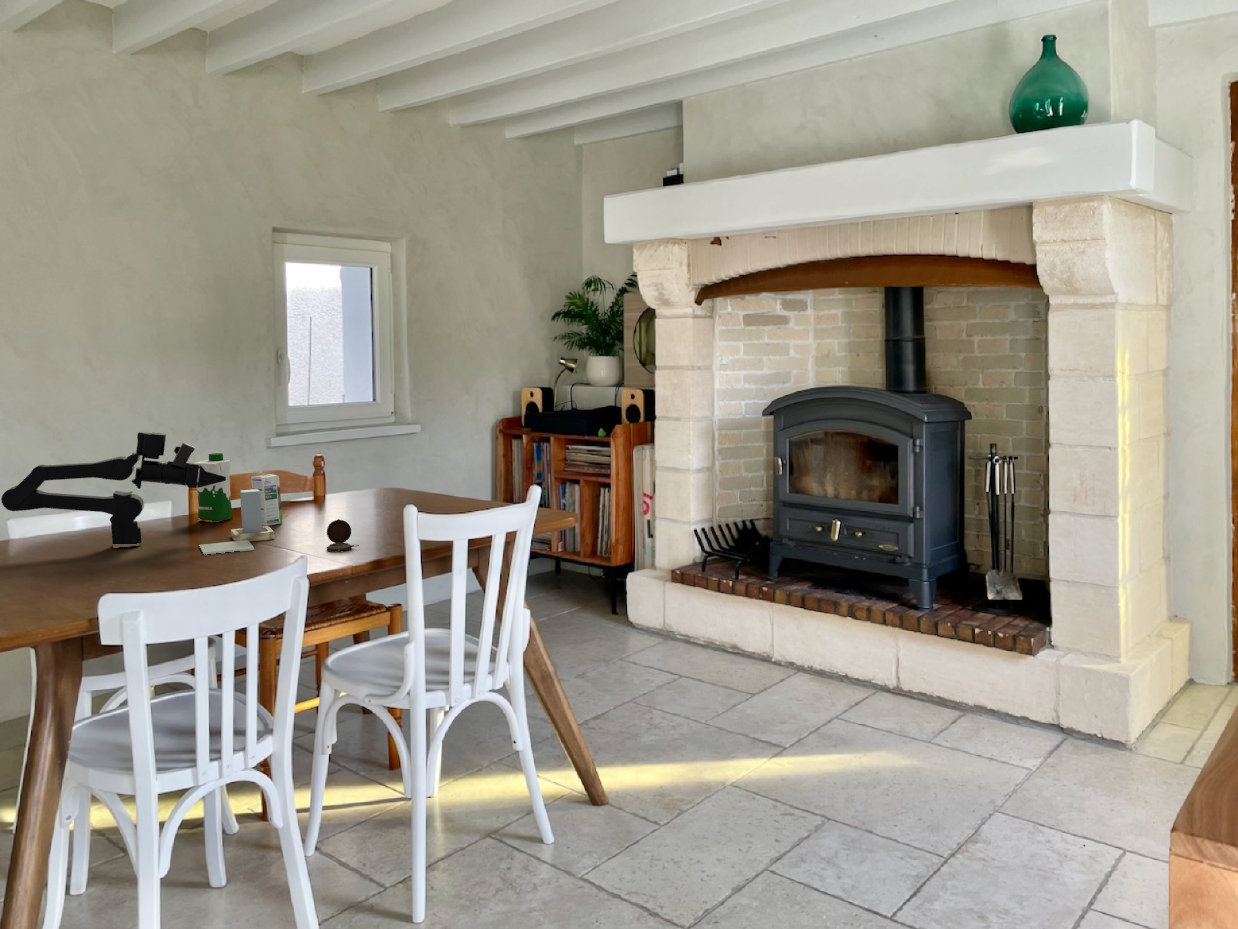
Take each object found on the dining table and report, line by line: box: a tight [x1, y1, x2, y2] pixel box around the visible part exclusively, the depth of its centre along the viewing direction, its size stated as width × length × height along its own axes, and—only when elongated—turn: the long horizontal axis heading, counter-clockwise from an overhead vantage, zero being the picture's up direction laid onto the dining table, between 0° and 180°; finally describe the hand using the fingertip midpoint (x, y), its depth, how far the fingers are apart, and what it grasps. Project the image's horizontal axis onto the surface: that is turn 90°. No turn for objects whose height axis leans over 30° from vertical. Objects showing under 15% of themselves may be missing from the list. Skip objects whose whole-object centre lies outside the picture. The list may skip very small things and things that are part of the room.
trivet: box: [198, 540, 255, 556], centre depth 259 cm, size 12×12×1 cm
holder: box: [230, 526, 275, 542], centre depth 273 cm, size 10×10×2 cm
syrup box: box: [250, 473, 283, 527], centre depth 294 cm, size 6×6×14 cm
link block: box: [239, 489, 263, 534], centre depth 273 cm, size 4×4×13 cm
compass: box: [326, 518, 360, 552], centre depth 256 cm, size 8×8×7 cm
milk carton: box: [192, 452, 234, 521], centre depth 301 cm, size 9×9×20 cm
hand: (224, 478), depth 273 cm, fingers open, 9 cm apart
